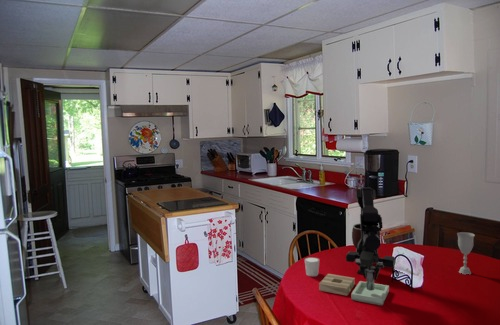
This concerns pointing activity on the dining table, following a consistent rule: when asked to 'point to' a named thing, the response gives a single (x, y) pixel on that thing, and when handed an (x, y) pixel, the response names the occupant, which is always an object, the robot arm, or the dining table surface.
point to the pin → (370, 277)
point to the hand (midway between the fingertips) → (370, 279)
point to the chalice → (465, 248)
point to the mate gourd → (358, 234)
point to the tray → (370, 293)
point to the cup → (312, 266)
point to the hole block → (337, 284)
